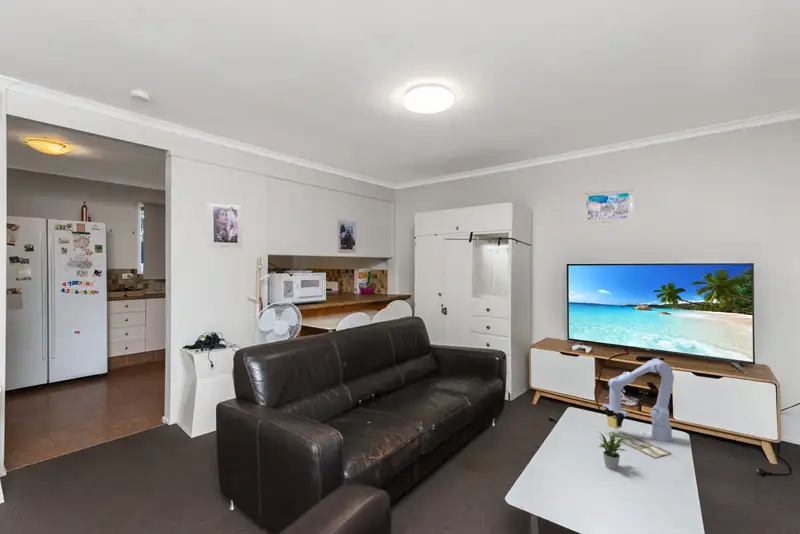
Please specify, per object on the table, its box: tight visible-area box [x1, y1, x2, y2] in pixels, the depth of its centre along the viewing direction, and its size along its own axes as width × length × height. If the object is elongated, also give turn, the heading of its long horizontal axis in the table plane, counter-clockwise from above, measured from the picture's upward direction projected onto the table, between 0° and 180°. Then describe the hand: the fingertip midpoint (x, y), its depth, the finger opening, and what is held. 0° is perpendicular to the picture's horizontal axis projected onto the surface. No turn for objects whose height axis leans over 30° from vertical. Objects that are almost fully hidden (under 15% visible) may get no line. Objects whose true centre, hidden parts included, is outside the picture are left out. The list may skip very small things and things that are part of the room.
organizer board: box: [604, 430, 672, 459], centre depth 209 cm, size 13×31×1 cm, turn 22°
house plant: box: [598, 431, 628, 471], centre depth 185 cm, size 14×14×16 cm
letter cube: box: [607, 415, 623, 430], centre depth 219 cm, size 5×5×5 cm
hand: (614, 424), depth 219 cm, fingers closed on letter cube, 5 cm apart
